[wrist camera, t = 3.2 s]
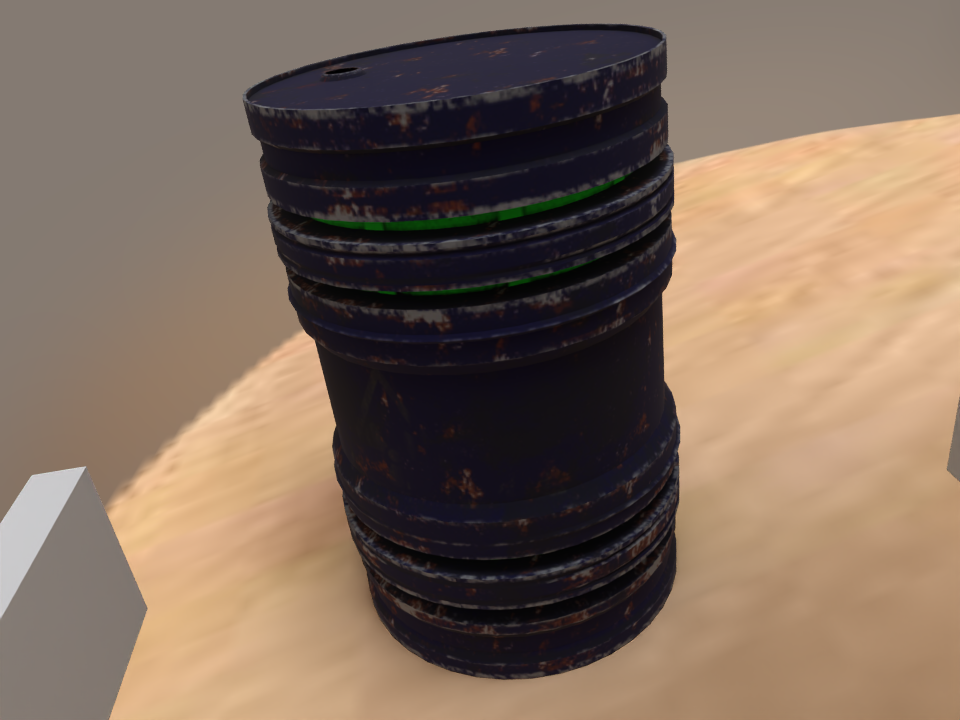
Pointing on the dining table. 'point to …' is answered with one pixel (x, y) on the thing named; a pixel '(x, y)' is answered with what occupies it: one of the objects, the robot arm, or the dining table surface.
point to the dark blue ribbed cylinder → (490, 329)
